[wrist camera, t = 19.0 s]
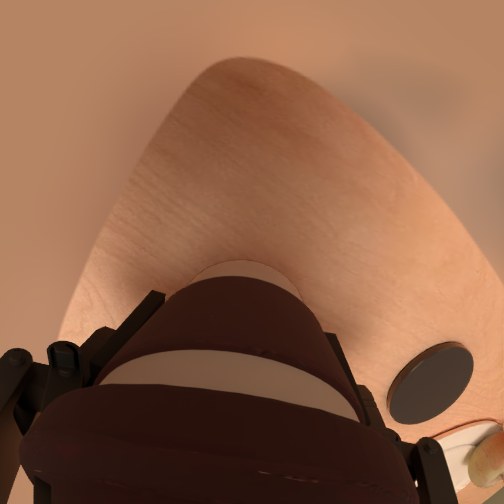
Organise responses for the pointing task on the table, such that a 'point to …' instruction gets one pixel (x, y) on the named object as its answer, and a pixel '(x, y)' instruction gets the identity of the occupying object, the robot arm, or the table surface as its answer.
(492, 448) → the fruit
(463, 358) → the slate coaster
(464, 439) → the plate
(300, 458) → the coffee cup
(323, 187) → the table surface
